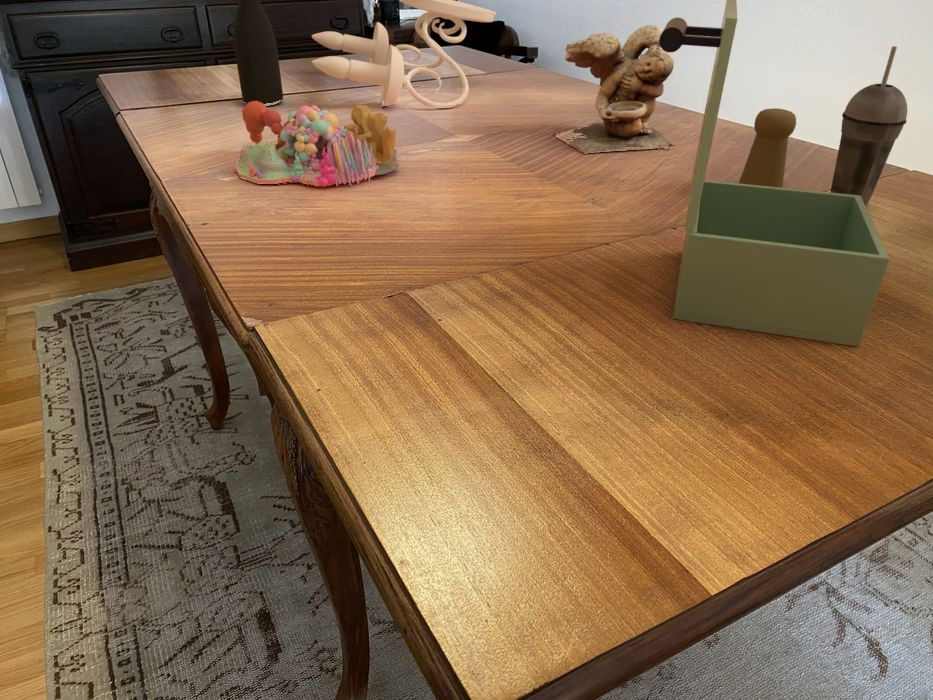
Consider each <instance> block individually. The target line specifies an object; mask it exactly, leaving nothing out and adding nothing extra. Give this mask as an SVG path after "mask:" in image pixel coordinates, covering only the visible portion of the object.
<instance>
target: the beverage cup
mask: <svg viewBox="0 0 933 700" xmlns="http://www.w3.org/2000/svg"><path fill="white" fill-rule="evenodd" d="M897 49H898V46H896V45H894V46H892V47H891V48H890V53H889V57H888V59H887V63H886V67H885V70H884V73H883V76H882V79H881V83H873V84H870V85H867V86H865V87H863V88H861V89H860V90H859V91H857V92H856V93H854V95H853V96H852V97H851V98H850V100H849V101H848V103H847V104H846V106H845V110H844V111H843V113H842V115H841V116H842V120H841V128H840V133H841V135H840V140H839V147H838V151H837V155H836V160H835V165H834V166H835V167H834V172H833V177H832V182H831V187H830V192H829V193H839V194H849V195H859V196H861V198H862V200H863V202H864V204H865V206H866V207H867V206H868V204H869V202H870V200H871V198H872V196H873V194H874V192H875V189H876V187H877V184H878V182H879V180H880V178H881V175H882V173H883V171H884V168H885V166H886V163H887V161H888V158H889V156H890V154H891V152H892V149H893V146H894V144H895V142H896V140H897V139H898V138H899V136H900V134H901V132H902V131H903V129H904V125H905V124H907V116H908V103H907V99H906V97H905V95H904V93H903V92H902V91H901V89H899V88H897V87H896V86H894V85H892V84H888V83H887V82H888V79H889V76H890V72H891V69H892V66H893V62H894V58H895V55H896V52H897Z"/></svg>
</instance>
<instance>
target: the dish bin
mask: <svg viewBox="0 0 933 700" xmlns="http://www.w3.org/2000/svg"><path fill="white" fill-rule="evenodd" d="M685 230H686V231H685V235H684V240H683V241H684V242H683V245H682V246H683V247H682V253H681V259H680V265H679V266H680V267H679V273H678V279H677V286H676V287H677V288H676V293H675V300H674V307H673V315H672V319H673V320H679V321H685V322H692V323H699V324H705V325H711V326H719V327H725V328H732V329H738V330H745V331H751V332H758V333H765V334H771V335H779V336H785V337H792V338H798V339H806V340H809V341H810V340H811V341H818V342H825V343H831V344H836V345H837V344H838V345H844V346H850V347H851V346H852V347H856V348H857V347H860V344H861V342H862V339H863V336H864V333H865V331H866V327H867V324H868V322H869V319H870V316H871V313H872V311H873V307H874V305H875V302H876V299H877V297H878V294H879V290H880V288H881V286H882V282H883V279H884V277H885V274H886V271H887V268H888V265H889V263H890V257H889V255H888V252H887V250H886V248H885V246H884V243H883V242H882V239H881V237H880V235H879V232H878V231H877V229H876V226H875V224H874V222H873V219H872V217H871V215H870V213H869V211H868V209H867V206H865V204H864V202H863V200H862V198H861V196H859V195H849V194H839V193H830V192H828V191H819V190H818V191H817V190H809V189H808V190H807V189H799V188H788V187H783V188H779V187H769V186H759V185H749V184H739V182H738V183H737V182H729V181H719V180H710V179H709V180H708V179H705V180H704V185H703V190H702V194H701V199H700V204H699V209H698V214H697V219H696V224H695V229H694V230H691V229H685Z"/></svg>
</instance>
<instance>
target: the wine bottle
mask: <svg viewBox="0 0 933 700" xmlns="http://www.w3.org/2000/svg"><path fill="white" fill-rule="evenodd" d="M237 4H238V5H237V10H236V15H235V18H234V19H235V20H234V24H233V48H234V54H235V58H236V59H235V60H236V66H237V74H238V79H239V80H238V81H239V86H240V92H241V97H242V101H243V103H244V102H246V103H248V102H251V101H258V102H261V103H263V104H266V103H273V102H276V101H279V100H282V99H283V100H284V92H283V85H282V75H281V69H280V60H279V52H278V43H277V39H276V35H275V32H274V29H273V26H272V24H271V22H270V20H269V18H268V16H267V14H266V12H265V10H264V7H263V5H262V3H261V0H238V3H237ZM283 100H282V101H283Z"/></svg>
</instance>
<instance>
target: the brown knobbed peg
mask: <svg viewBox="0 0 933 700" xmlns="http://www.w3.org/2000/svg"><path fill="white" fill-rule="evenodd" d="M753 126H754V128H753V129H754V131H755V133H756V134H755V137H754V139H753V142H752V146H751V148H750V150H749V154H748V157H747V159H746V162H745V164H744V168H743V170H742V172H741V176H740V178H739V182H738V183H739V184H749V185H759V186H769V187H779V188H784V178H785V169H786V163H787V161H786V160H787V153H788V143H789V137H791V136H792V134H793V133H794V132H795V129H796V126H797V117H796V115H795V113H794V112H792V111H790V110H787V109H784V108H775V107H774V108H765V109H761V110H760V111H759V112H758V113H757V114H756V116H755V120H754V125H753Z"/></svg>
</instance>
